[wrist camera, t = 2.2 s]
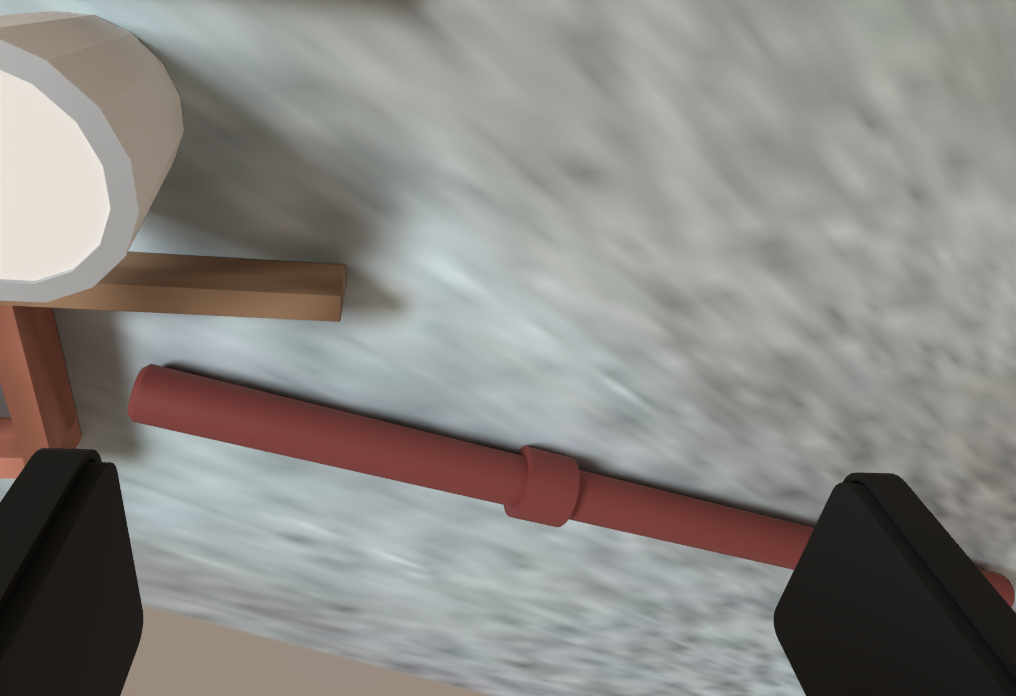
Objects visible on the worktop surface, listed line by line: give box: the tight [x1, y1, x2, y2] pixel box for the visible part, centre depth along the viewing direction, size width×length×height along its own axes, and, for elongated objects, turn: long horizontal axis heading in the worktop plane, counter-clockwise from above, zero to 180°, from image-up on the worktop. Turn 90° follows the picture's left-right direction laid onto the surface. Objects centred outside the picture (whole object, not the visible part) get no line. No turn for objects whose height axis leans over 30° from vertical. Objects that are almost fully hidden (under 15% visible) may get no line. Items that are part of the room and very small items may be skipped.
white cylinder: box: [0, 11, 184, 303], centre depth 20 cm, size 7×7×7 cm
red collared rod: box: [127, 364, 1015, 607], centre depth 34 cm, size 45×3×3 cm, turn 67°
